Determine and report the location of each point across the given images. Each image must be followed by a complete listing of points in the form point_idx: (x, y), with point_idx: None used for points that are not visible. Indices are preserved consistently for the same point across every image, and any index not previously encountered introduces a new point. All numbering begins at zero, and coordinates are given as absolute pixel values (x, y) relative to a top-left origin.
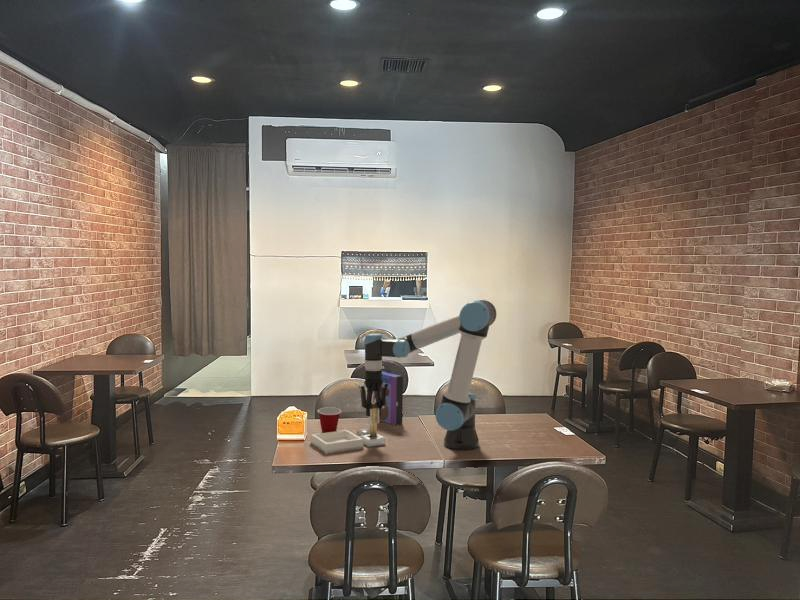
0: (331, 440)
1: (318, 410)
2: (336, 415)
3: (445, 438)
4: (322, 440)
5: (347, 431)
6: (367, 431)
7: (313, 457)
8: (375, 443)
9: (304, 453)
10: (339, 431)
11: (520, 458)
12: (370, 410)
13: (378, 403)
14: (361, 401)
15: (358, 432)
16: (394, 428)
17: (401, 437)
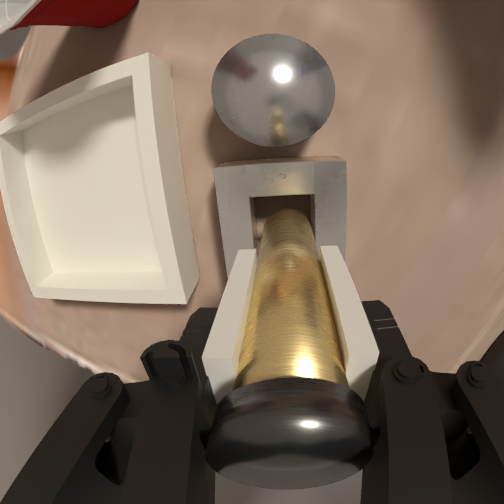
0: (74, 125)
1: None
2: (41, 3)
3: (499, 366)
4: (17, 241)
5: (139, 93)
6: (291, 111)
7: (30, 292)
8: None
9: (7, 242)
10: (95, 84)
11: None
12: None
13: (364, 473)
14: (43, 439)
15: (216, 110)
16: (493, 23)
17: (470, 177)
